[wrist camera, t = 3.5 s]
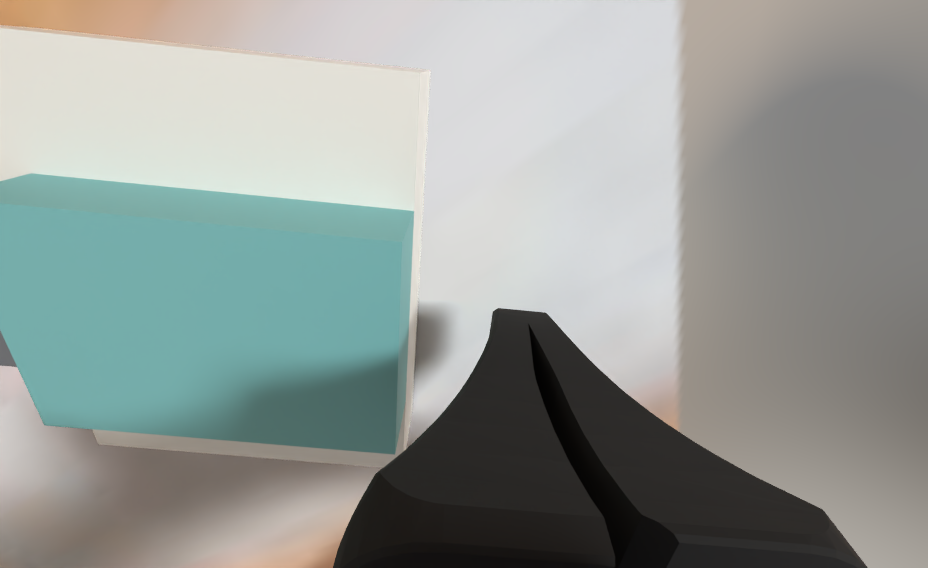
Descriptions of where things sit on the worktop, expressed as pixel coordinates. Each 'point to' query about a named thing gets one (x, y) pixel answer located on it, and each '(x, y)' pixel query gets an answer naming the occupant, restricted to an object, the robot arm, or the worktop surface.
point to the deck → (219, 146)
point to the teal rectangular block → (207, 312)
